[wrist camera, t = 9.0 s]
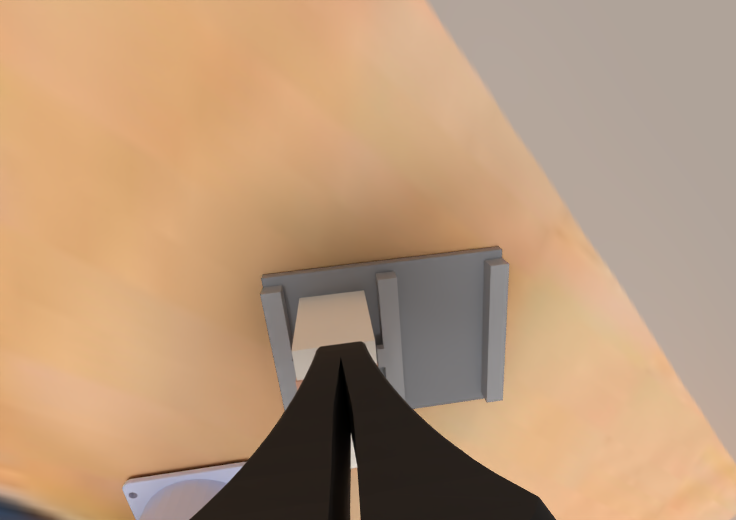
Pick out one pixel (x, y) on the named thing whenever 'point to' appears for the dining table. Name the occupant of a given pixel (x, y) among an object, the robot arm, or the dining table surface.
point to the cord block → (330, 330)
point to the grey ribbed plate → (411, 321)
